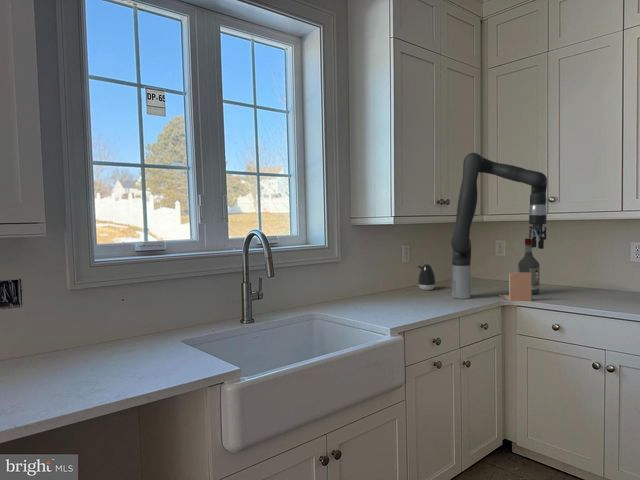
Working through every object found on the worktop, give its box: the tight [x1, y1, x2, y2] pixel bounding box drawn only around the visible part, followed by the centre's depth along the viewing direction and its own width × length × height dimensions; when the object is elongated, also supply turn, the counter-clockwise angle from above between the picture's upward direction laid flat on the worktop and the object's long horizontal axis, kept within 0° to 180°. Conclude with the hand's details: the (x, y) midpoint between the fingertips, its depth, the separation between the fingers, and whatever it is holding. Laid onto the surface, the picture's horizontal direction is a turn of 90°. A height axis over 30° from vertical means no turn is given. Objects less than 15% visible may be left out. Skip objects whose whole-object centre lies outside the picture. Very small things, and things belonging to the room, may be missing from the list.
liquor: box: [517, 237, 540, 296], centre depth 237 cm, size 9×9×30 cm
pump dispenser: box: [417, 263, 437, 291], centre depth 257 cm, size 10×10×15 cm
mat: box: [497, 294, 534, 301], centre depth 226 cm, size 14×12×1 cm
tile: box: [508, 272, 532, 302], centre depth 218 cm, size 10×2×14 cm, turn 83°
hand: (537, 248), depth 209 cm, fingers open, 8 cm apart
